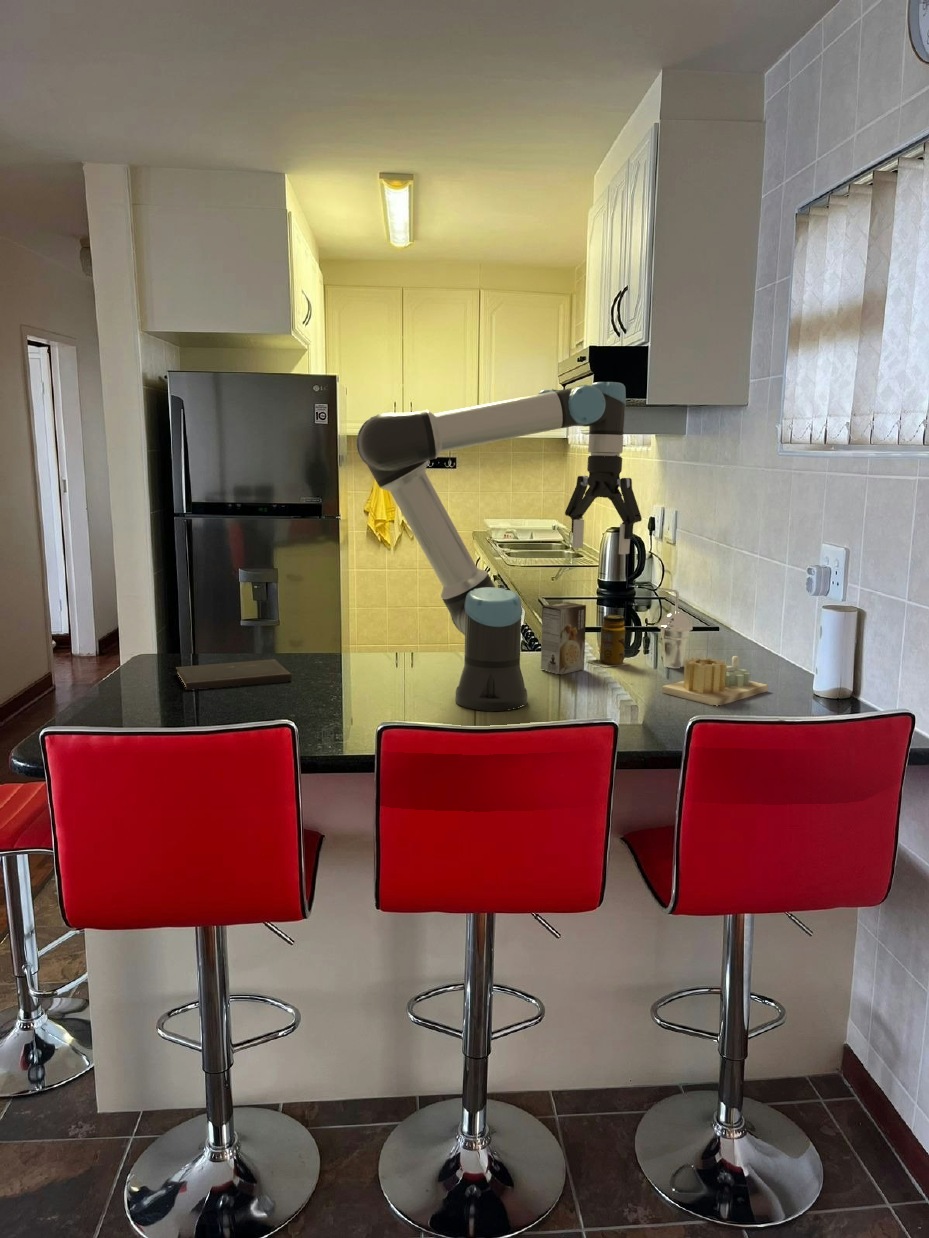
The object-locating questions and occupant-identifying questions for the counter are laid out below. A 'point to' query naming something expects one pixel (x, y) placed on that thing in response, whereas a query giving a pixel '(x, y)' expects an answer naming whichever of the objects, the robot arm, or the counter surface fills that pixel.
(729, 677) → the crank gear
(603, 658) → the condiment
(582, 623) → the brown and white box
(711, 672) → the brass gear
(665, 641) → the cup with straw
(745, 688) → the board
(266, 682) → the hardcover book
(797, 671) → the counter surface
